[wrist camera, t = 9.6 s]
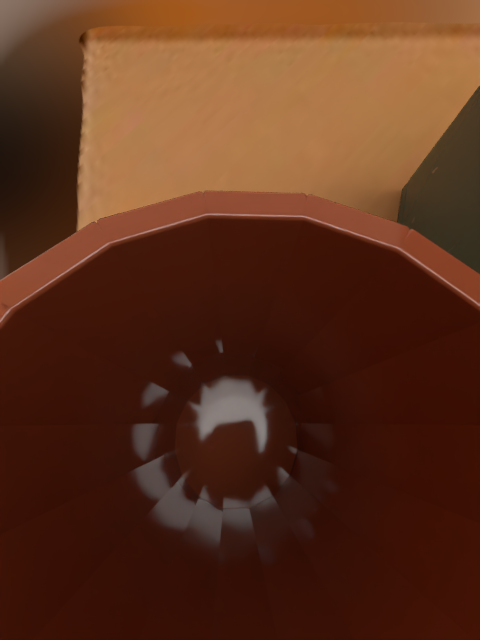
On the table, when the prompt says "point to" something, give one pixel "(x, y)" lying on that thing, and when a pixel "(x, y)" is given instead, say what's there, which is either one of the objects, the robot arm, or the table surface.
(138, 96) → the table surface
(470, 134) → the teal storage box
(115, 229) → the clay cup
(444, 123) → the table surface
